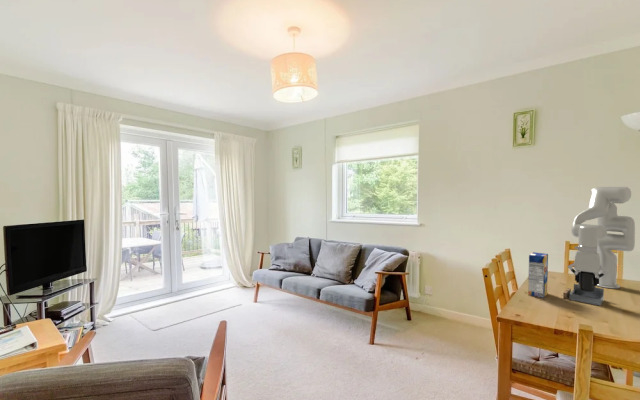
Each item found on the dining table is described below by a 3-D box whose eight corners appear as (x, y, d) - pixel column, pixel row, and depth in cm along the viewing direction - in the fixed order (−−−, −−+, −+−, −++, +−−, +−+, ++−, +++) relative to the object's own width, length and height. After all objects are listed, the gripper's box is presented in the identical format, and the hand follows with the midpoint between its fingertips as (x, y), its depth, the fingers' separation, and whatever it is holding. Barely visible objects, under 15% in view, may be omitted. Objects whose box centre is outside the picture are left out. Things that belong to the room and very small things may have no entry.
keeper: (573, 294, 171) (574, 283, 171) (603, 300, 162) (603, 288, 162) (569, 299, 163) (569, 288, 163) (600, 305, 154) (600, 293, 154)
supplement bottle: (590, 288, 165) (590, 265, 165) (598, 292, 159) (598, 268, 159) (575, 287, 167) (575, 265, 167) (583, 291, 160) (583, 268, 160)
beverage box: (528, 295, 170) (529, 254, 170) (532, 290, 178) (533, 252, 178) (543, 298, 166) (544, 256, 165) (547, 293, 173) (548, 253, 173)
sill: (568, 293, 173) (568, 288, 173) (570, 294, 172) (570, 288, 172) (563, 298, 165) (563, 292, 165) (566, 298, 164) (566, 293, 164)
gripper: (565, 248, 166) (564, 281, 167) (609, 252, 153) (608, 289, 154) (568, 246, 171) (567, 279, 172) (611, 251, 158) (610, 286, 159)
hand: (586, 283), depth 163 cm, fingers closed on supplement bottle, 6 cm apart
